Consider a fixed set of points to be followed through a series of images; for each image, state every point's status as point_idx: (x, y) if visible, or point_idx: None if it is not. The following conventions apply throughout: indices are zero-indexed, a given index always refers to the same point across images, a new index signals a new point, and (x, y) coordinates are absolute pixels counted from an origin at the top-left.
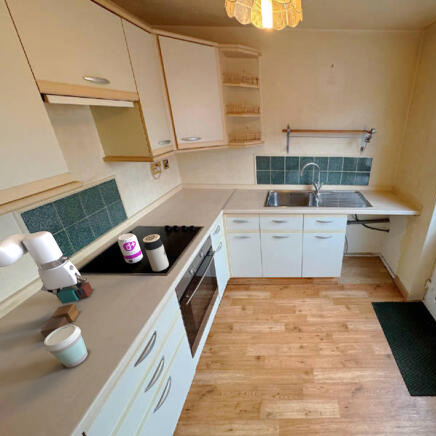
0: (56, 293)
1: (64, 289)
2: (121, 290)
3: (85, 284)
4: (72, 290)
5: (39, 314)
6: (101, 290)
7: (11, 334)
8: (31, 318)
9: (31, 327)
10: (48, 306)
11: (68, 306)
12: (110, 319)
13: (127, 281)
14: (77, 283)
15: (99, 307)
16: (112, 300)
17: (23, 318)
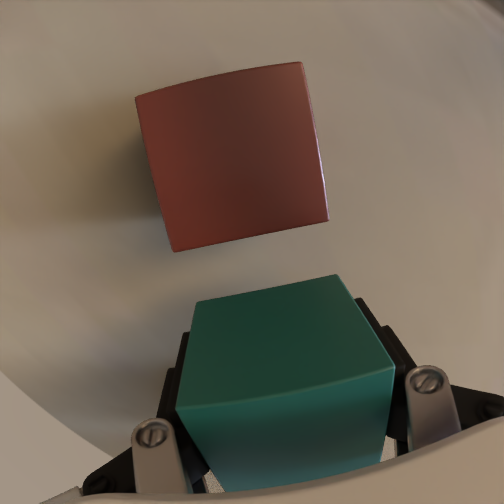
0: (202, 483)
1: (259, 457)
2: (500, 166)
3: (299, 123)
4: (379, 460)
5: (55, 324)
6: (368, 113)
7: (66, 416)
8: (44, 345)
9: (113, 405)
10: (40, 258)
11: None
12: (476, 380)
13: (496, 65)
14: (441, 428)
15: (427, 316)
16: (477, 262)
17: (8, 333)
